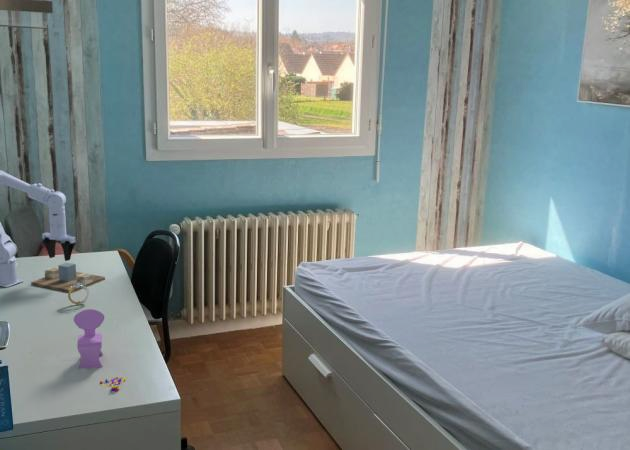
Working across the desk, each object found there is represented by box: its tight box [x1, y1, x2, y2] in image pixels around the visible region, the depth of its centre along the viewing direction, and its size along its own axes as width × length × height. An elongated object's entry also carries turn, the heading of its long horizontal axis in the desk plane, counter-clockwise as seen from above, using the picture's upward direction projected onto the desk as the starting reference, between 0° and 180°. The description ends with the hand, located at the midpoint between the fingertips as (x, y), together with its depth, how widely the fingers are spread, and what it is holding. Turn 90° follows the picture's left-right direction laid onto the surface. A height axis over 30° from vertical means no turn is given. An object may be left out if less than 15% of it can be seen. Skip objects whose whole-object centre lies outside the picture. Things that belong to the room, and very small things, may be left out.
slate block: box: [57, 262, 77, 282], centre depth 256 cm, size 4×4×6 cm
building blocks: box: [99, 376, 126, 392], centre depth 177 cm, size 6×8×2 cm
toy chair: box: [73, 308, 105, 370], centre depth 188 cm, size 8×9×15 cm
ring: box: [67, 282, 90, 306], centre depth 233 cm, size 7×3×8 cm, turn 110°
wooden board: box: [30, 266, 106, 294], centre depth 257 cm, size 20×18×4 cm
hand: (59, 258), depth 254 cm, fingers open, 7 cm apart
